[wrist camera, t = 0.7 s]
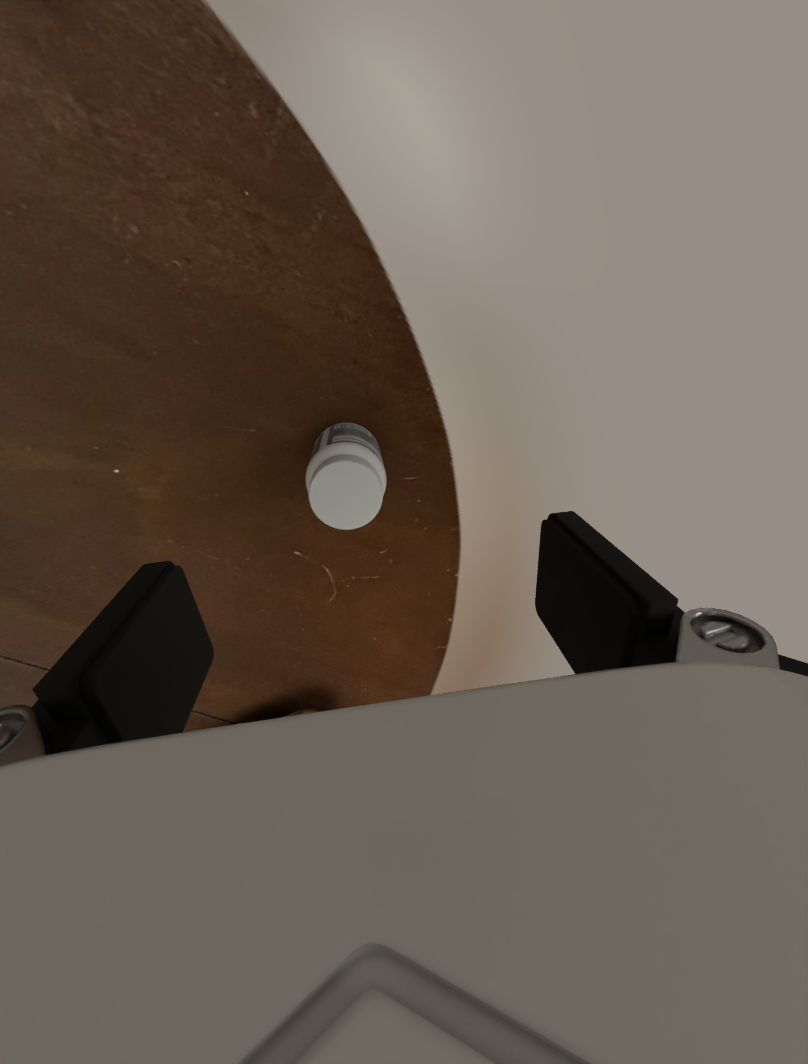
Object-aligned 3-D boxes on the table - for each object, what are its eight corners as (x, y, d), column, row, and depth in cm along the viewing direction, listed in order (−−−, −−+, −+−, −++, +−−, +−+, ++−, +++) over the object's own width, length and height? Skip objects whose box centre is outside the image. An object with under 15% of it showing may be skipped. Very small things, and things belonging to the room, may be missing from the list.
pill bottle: (343, 497, 31) (339, 552, 23) (299, 449, 29) (281, 491, 21) (393, 460, 30) (407, 503, 22) (352, 406, 28) (352, 435, 20)
